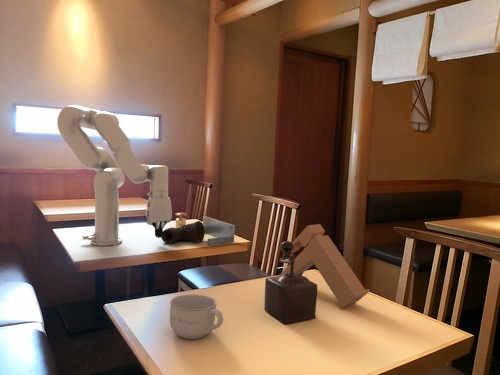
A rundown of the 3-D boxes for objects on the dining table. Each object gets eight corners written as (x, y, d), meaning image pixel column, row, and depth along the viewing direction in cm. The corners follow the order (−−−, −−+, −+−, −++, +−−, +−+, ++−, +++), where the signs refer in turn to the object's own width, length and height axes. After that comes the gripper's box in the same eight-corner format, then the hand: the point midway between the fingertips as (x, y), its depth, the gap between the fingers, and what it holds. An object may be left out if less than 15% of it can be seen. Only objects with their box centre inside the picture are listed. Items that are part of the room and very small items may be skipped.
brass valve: (178, 232, 200) (179, 214, 200) (172, 230, 205) (173, 213, 204) (188, 231, 204) (188, 214, 203) (182, 229, 208) (183, 212, 207)
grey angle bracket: (209, 246, 177) (209, 228, 176) (180, 234, 196) (181, 218, 195) (235, 242, 186) (235, 225, 185) (205, 231, 205) (206, 216, 204)
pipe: (159, 226, 177) (190, 223, 174) (174, 222, 192) (203, 219, 188) (161, 248, 177) (193, 246, 174) (176, 242, 192) (205, 240, 188)
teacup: (160, 331, 96) (161, 298, 95) (196, 319, 104) (198, 288, 103) (195, 355, 86) (197, 318, 86) (233, 339, 94) (235, 306, 93)
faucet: (323, 329, 129) (284, 263, 141) (370, 291, 116) (322, 222, 128) (308, 335, 125) (269, 266, 137) (355, 296, 111) (307, 224, 124)
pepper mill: (318, 318, 108) (323, 252, 106) (284, 325, 103) (288, 256, 101) (285, 297, 122) (289, 238, 120) (253, 303, 116) (257, 241, 114)
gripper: (146, 196, 164) (146, 241, 166) (179, 194, 174) (178, 236, 176) (138, 194, 170) (138, 237, 172) (170, 192, 180) (170, 233, 182)
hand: (158, 237), depth 174 cm, fingers closed
